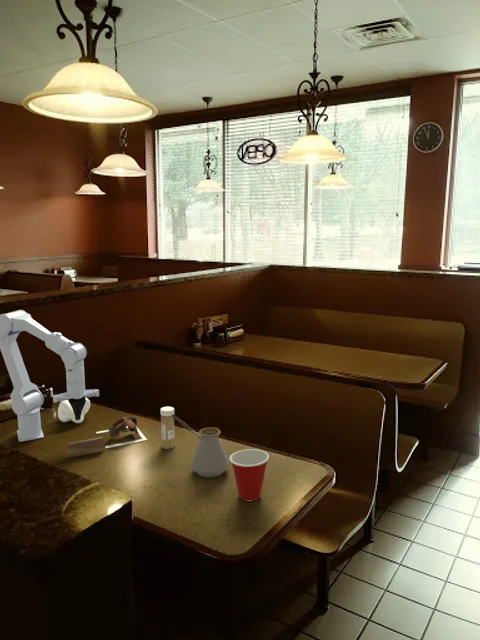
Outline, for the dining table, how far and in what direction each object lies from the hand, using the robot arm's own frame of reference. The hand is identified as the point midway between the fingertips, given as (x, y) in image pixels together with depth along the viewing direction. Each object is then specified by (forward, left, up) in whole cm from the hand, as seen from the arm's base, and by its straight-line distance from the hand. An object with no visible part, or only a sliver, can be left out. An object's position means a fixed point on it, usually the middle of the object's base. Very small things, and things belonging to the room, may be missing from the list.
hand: (77, 419), depth 174 cm
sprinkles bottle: (+16, +26, -9) cm, 32 cm away
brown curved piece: (+3, +16, -9) cm, 18 cm away
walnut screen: (+9, +1, -9) cm, 13 cm away
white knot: (-22, +3, -9) cm, 24 cm away
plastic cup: (+56, +35, -9) cm, 67 cm away
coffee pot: (+34, +29, -9) cm, 46 cm away
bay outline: (+1, +14, -9) cm, 16 cm away
